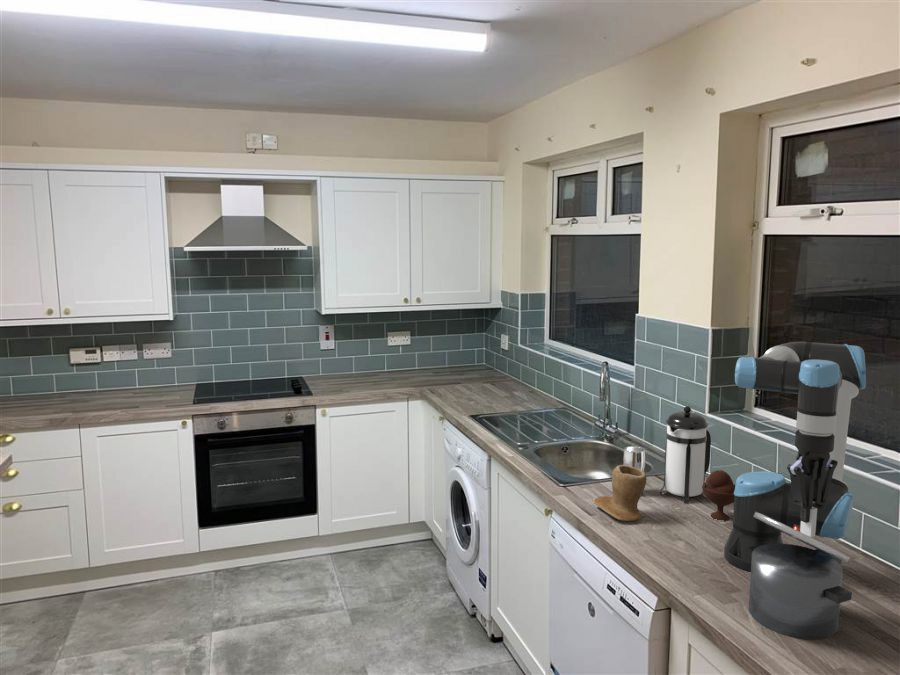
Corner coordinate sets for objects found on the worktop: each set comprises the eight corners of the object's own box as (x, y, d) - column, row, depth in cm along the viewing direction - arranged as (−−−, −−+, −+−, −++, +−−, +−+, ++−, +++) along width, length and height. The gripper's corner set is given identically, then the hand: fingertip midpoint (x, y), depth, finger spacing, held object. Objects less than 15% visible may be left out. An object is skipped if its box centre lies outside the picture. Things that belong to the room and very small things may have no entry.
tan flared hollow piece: (652, 520, 205) (654, 472, 203) (618, 526, 201) (620, 477, 199) (624, 502, 219) (625, 457, 217) (591, 507, 216) (593, 461, 213)
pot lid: (788, 535, 164) (793, 525, 164) (866, 573, 146) (872, 561, 146) (735, 507, 156) (740, 496, 156) (811, 543, 138) (817, 530, 138)
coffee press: (713, 506, 216) (718, 413, 211) (660, 501, 220) (663, 410, 215) (708, 487, 232) (712, 400, 228) (659, 482, 236) (662, 398, 232)
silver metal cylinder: (630, 487, 232) (632, 444, 230) (648, 493, 227) (649, 449, 225) (618, 492, 228) (619, 448, 226) (635, 498, 223) (637, 453, 220)
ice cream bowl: (743, 525, 201) (746, 476, 199) (704, 523, 203) (706, 475, 201) (734, 511, 212) (737, 464, 209) (697, 509, 213) (699, 463, 211)
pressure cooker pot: (783, 581, 169) (787, 531, 167) (876, 633, 147) (882, 576, 145) (721, 598, 161) (724, 546, 159) (809, 655, 139) (814, 595, 137)
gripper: (820, 424, 154) (813, 523, 158) (778, 430, 149) (772, 533, 153) (851, 432, 148) (843, 536, 151) (808, 439, 142) (801, 547, 146)
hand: (807, 534), depth 152 cm, fingers closed
